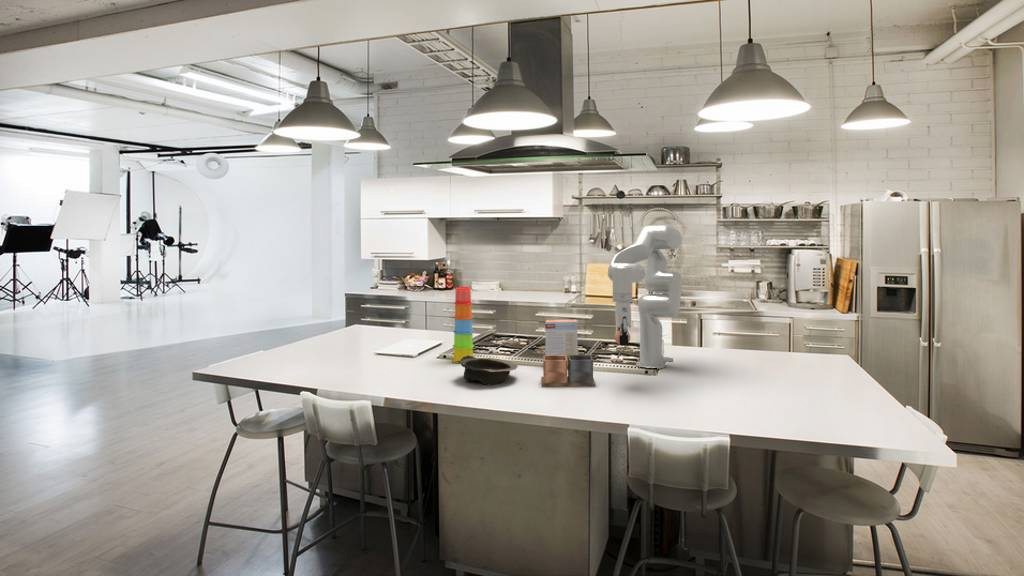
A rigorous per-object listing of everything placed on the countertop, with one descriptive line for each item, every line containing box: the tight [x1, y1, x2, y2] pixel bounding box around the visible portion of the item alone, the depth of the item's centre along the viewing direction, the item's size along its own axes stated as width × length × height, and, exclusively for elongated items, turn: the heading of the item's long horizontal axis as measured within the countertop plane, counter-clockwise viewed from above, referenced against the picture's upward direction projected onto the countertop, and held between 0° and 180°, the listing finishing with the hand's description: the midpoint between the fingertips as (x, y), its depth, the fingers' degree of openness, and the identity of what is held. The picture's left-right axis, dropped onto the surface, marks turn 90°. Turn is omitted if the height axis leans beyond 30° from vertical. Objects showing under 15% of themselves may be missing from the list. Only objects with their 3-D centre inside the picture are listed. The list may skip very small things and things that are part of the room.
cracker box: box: [544, 319, 579, 369], centre depth 267 cm, size 14×6×21 cm, turn 84°
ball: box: [614, 330, 631, 346], centre depth 236 cm, size 6×6×6 cm
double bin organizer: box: [540, 354, 597, 388], centre depth 242 cm, size 21×11×10 cm, turn 88°
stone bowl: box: [456, 355, 519, 386], centre depth 249 cm, size 25×25×9 cm
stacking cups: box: [452, 286, 475, 364], centre depth 281 cm, size 10×10×35 cm
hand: (622, 343), depth 236 cm, fingers closed on ball, 5 cm apart
